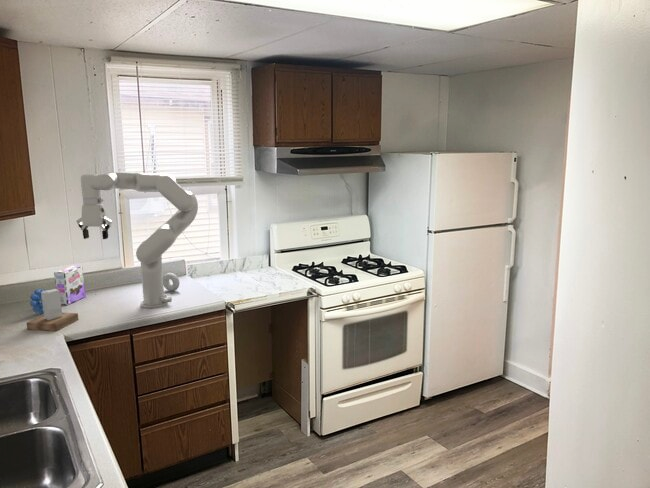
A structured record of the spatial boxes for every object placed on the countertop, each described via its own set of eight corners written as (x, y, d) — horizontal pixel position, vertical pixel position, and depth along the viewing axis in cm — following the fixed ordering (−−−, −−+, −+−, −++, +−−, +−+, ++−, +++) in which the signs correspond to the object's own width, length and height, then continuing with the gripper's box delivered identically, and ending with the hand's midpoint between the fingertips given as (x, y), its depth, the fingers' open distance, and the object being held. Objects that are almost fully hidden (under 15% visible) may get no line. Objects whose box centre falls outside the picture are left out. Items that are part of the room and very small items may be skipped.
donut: (161, 291, 272) (160, 272, 270) (166, 289, 275) (164, 271, 273) (177, 293, 268) (175, 274, 266) (181, 291, 271) (180, 272, 269)
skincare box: (58, 314, 228) (55, 288, 225) (63, 316, 225) (59, 289, 222) (43, 318, 223) (40, 291, 220) (48, 320, 220) (45, 293, 218)
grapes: (40, 318, 232) (37, 292, 230) (27, 317, 234) (24, 292, 231) (59, 310, 243) (56, 285, 241) (47, 309, 245) (44, 284, 242)
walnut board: (78, 319, 230) (77, 313, 229) (57, 331, 216) (56, 324, 216) (50, 318, 232) (49, 311, 232) (27, 329, 219) (26, 322, 218)
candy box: (67, 305, 250) (64, 272, 247) (57, 304, 252) (53, 271, 248) (86, 297, 264) (82, 265, 260) (76, 296, 265) (72, 265, 262)
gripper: (114, 200, 238) (117, 237, 242) (80, 200, 241) (84, 236, 245) (104, 202, 231) (108, 240, 234) (69, 202, 234) (73, 239, 237)
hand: (95, 238), depth 240 cm, fingers open, 9 cm apart
